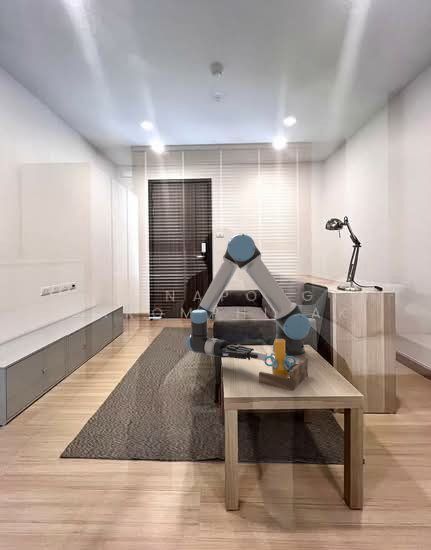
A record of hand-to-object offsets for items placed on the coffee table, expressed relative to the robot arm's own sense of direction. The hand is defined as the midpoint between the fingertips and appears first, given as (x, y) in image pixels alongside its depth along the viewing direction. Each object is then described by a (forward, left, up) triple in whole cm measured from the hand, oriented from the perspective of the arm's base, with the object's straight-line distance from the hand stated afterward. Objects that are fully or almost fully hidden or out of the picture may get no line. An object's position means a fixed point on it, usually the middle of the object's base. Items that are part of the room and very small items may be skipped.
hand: (266, 357), depth 126 cm
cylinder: (-4, +4, -8) cm, 10 cm away
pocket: (-5, +6, -7) cm, 11 cm away
